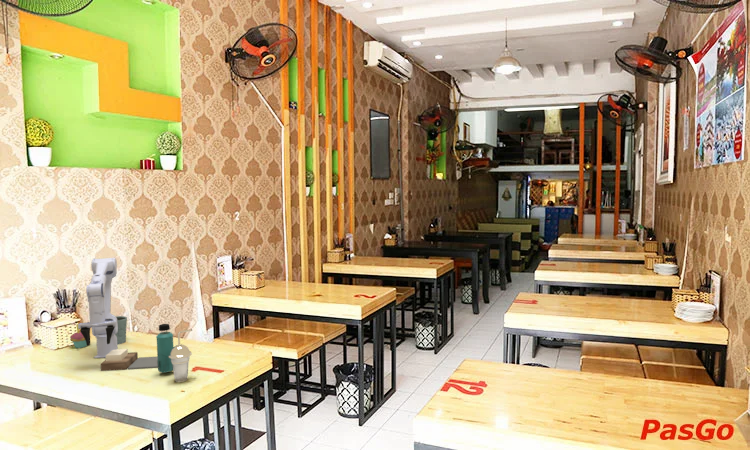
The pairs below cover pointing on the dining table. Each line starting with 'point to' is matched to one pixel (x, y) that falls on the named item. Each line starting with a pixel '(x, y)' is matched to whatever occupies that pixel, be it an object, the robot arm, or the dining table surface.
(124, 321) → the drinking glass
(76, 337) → the cupcake
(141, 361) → the mat
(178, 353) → the cup with straw
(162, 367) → the beverage bottle
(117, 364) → the board
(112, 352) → the tile
